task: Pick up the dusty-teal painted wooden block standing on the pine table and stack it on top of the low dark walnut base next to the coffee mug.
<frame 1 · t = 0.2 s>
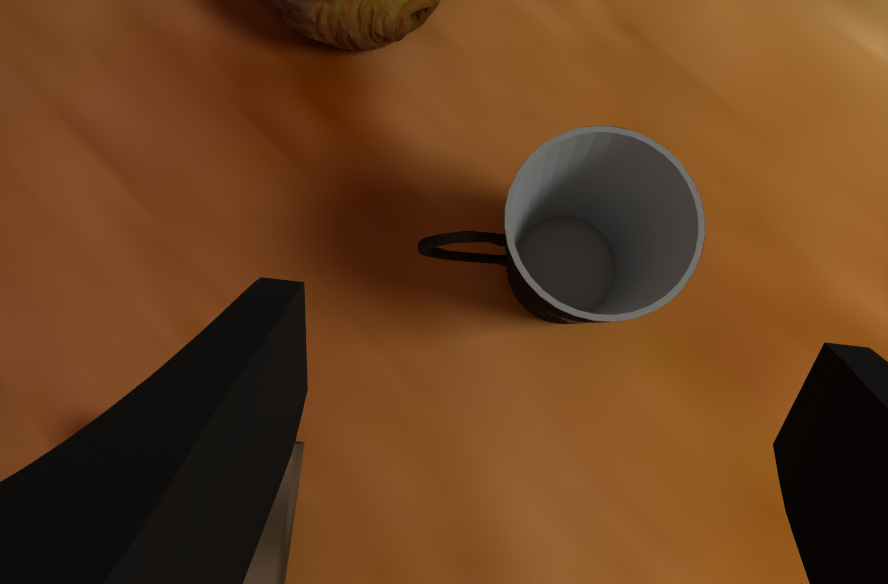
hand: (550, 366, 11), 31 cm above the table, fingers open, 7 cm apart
base: (206, 520, 40), on the table
coffee mug: (537, 257, 43), on the table
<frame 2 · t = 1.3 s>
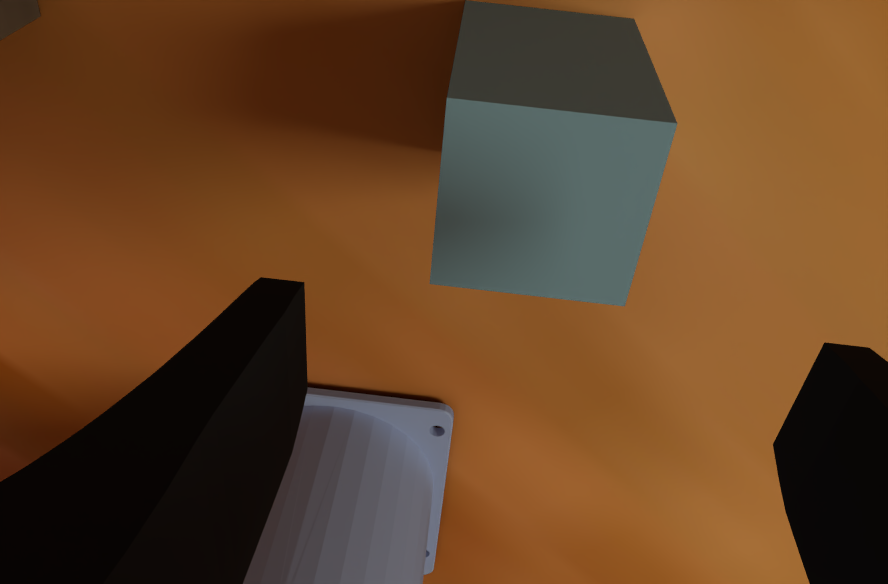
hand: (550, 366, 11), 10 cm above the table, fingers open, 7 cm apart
block: (536, 90, 19), on the table
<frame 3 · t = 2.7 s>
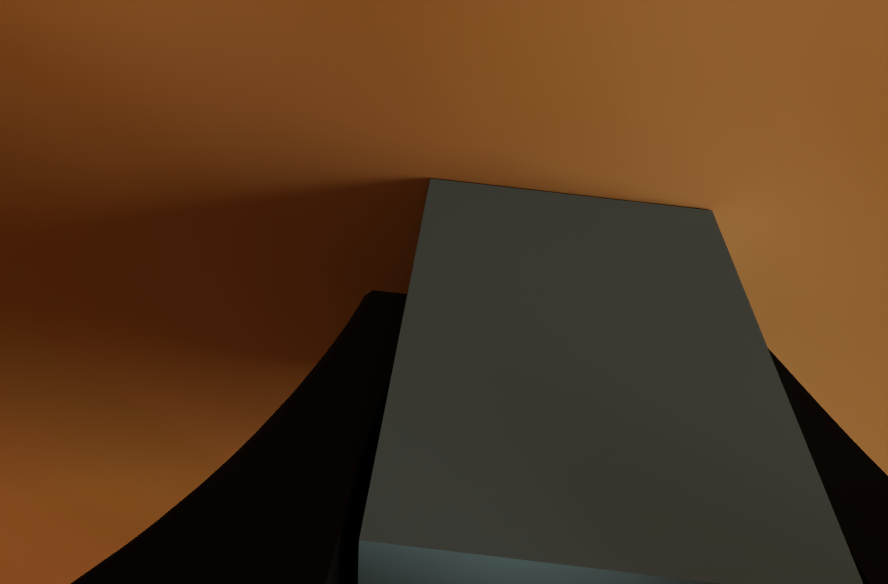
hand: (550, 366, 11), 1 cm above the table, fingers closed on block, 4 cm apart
block: (547, 305, 12), on the table, touching gripper
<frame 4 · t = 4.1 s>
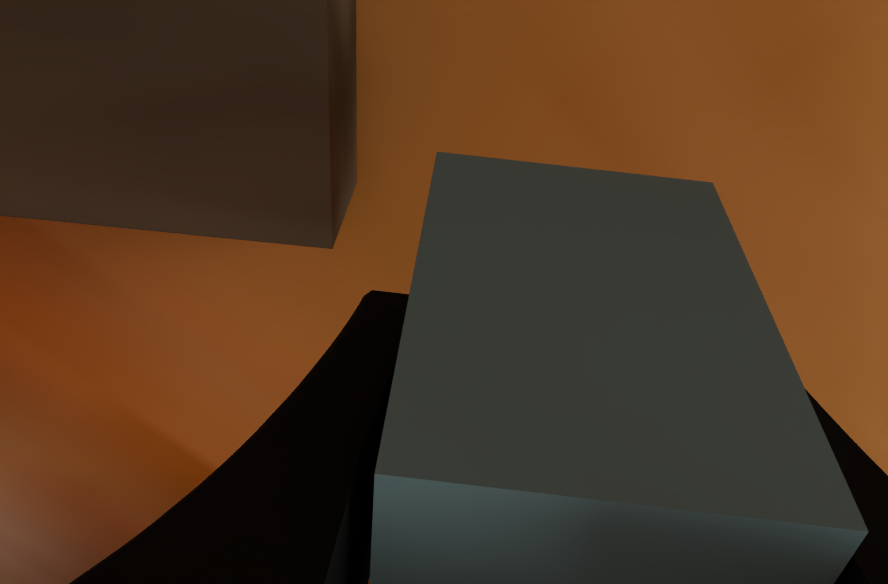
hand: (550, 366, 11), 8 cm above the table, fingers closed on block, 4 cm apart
block: (551, 279, 12), point 7 cm above the table, touching gripper
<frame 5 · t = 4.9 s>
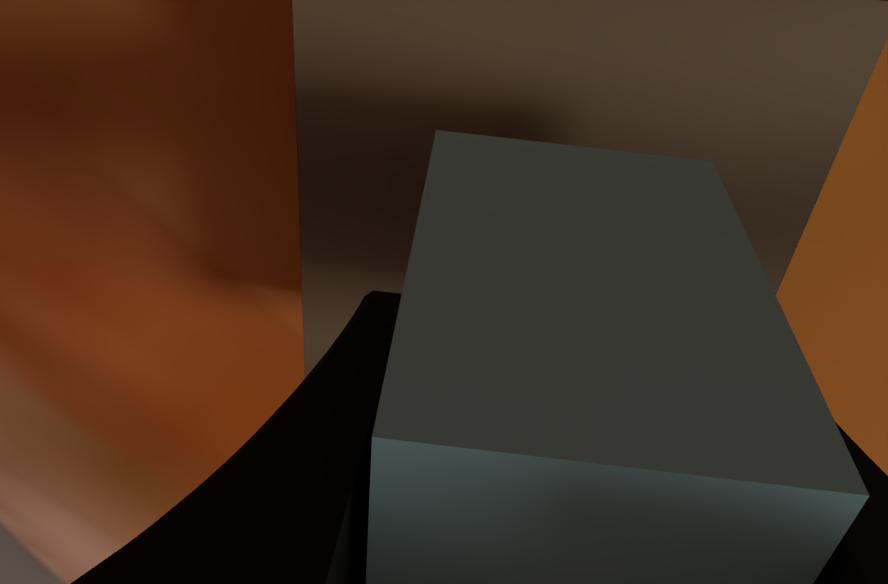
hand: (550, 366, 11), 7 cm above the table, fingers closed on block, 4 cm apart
block: (550, 260, 12), point 5 cm above the table, touching gripper
base: (540, 155, 16), on the table
when the fingers open (6 cm above the table, at t = 5.4 s): block stays where it is, resting on base.
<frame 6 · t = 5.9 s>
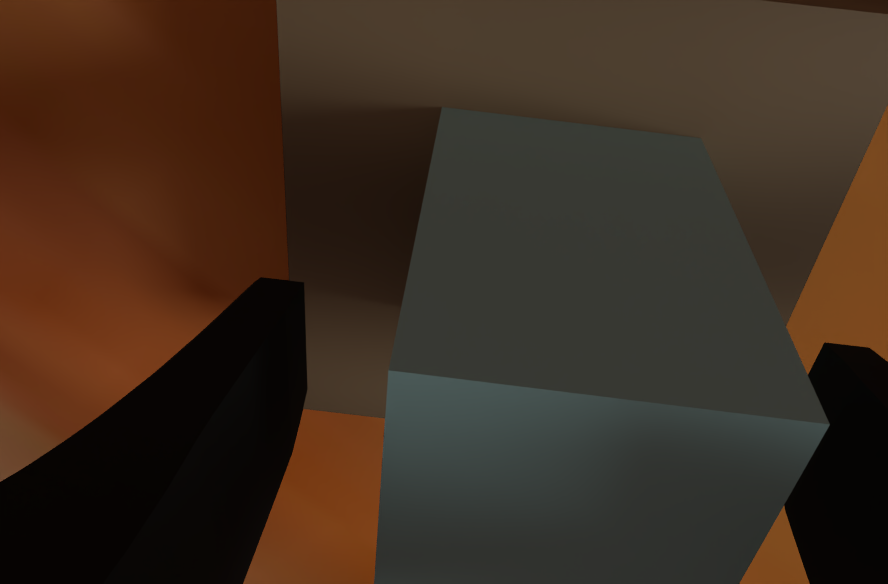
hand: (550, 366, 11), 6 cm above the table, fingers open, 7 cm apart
block: (548, 232, 13), point 3 cm above the table, touching base
base: (540, 172, 16), on the table
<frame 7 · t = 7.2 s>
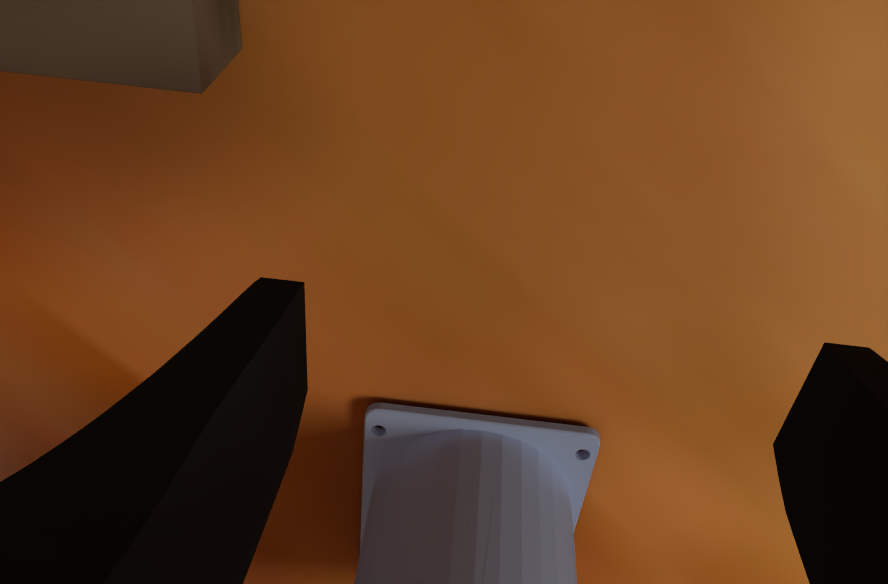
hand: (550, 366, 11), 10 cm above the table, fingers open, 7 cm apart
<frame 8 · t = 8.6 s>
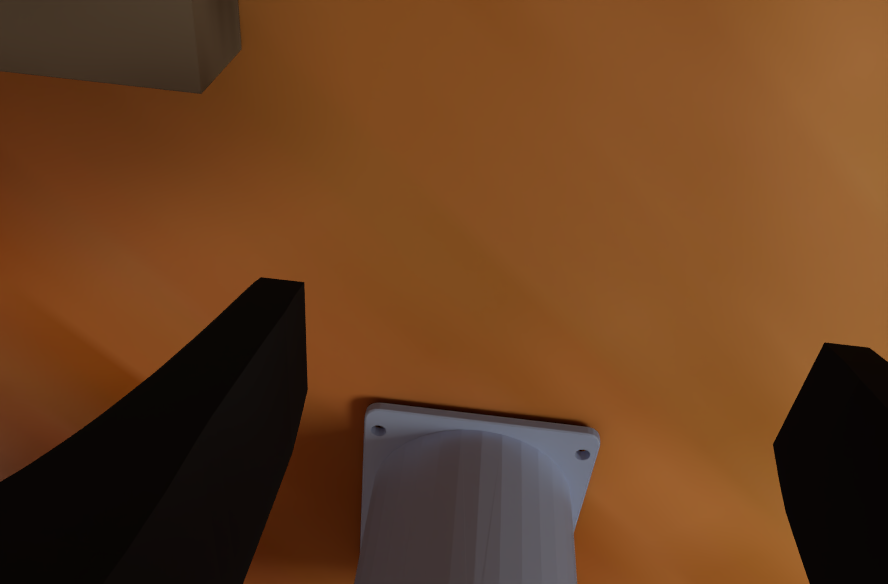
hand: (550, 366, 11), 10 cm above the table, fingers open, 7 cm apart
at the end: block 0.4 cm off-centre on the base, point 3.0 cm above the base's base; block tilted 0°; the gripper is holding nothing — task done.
